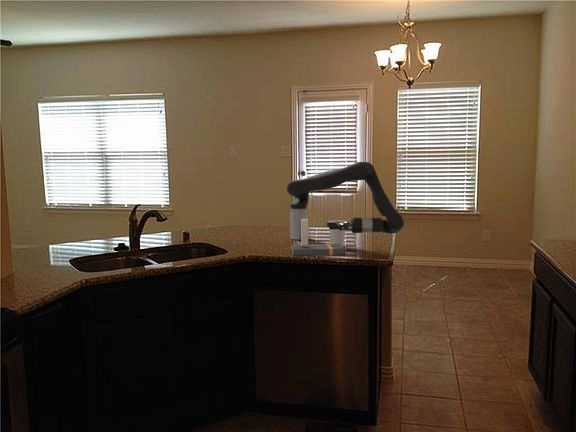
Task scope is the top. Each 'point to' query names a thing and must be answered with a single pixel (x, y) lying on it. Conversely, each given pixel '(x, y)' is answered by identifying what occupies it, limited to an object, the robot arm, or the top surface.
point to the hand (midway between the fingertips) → (328, 225)
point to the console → (318, 249)
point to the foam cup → (337, 235)
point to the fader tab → (304, 233)
